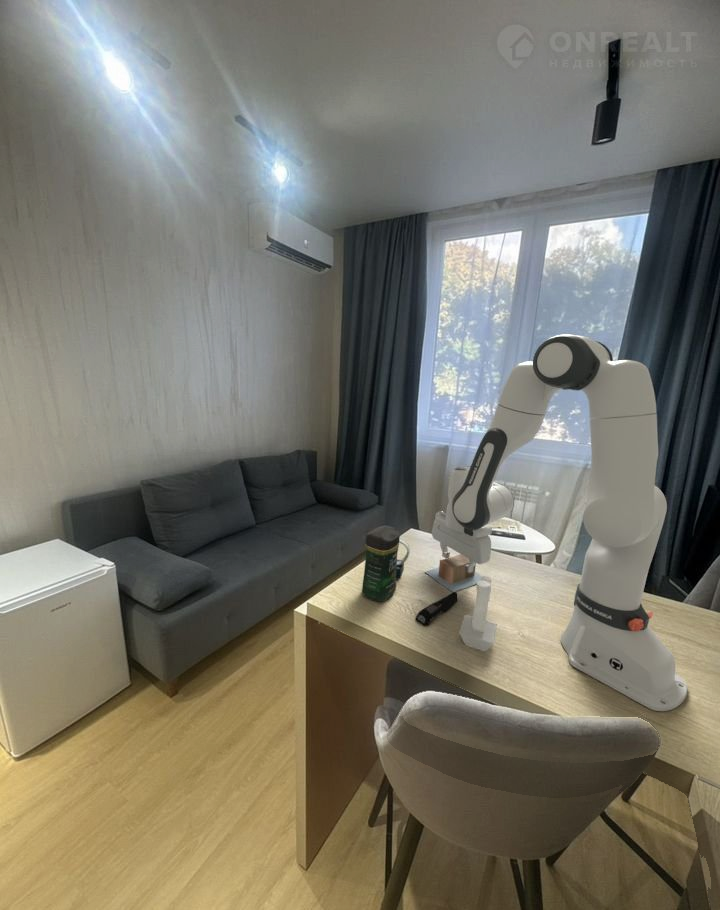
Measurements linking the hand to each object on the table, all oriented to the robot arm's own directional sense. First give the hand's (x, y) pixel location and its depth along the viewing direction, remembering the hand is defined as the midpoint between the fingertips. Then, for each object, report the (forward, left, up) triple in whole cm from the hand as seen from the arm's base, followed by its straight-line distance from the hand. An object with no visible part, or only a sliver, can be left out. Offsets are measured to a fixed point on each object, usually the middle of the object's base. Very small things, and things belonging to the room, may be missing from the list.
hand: (456, 564), depth 111 cm
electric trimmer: (-10, +16, -5) cm, 20 cm away
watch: (+10, +15, -5) cm, 19 cm away
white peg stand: (-23, +16, -5) cm, 28 cm away
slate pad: (0, 0, -4) cm, 4 cm away
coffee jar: (+4, +25, -5) cm, 26 cm away
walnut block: (0, -6, -2) cm, 6 cm away
